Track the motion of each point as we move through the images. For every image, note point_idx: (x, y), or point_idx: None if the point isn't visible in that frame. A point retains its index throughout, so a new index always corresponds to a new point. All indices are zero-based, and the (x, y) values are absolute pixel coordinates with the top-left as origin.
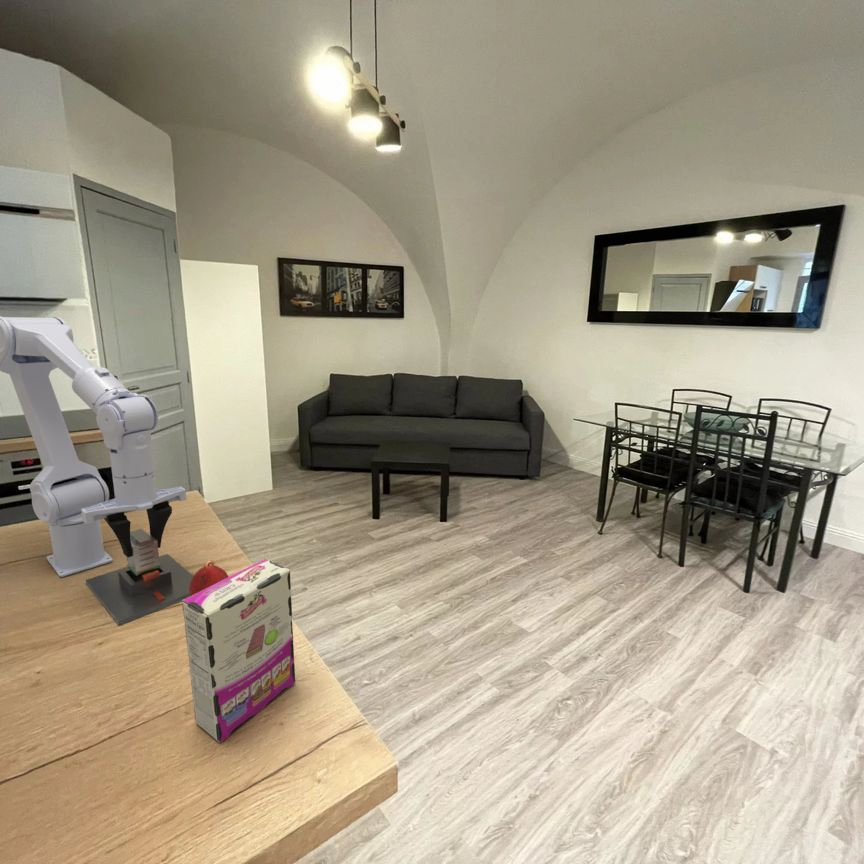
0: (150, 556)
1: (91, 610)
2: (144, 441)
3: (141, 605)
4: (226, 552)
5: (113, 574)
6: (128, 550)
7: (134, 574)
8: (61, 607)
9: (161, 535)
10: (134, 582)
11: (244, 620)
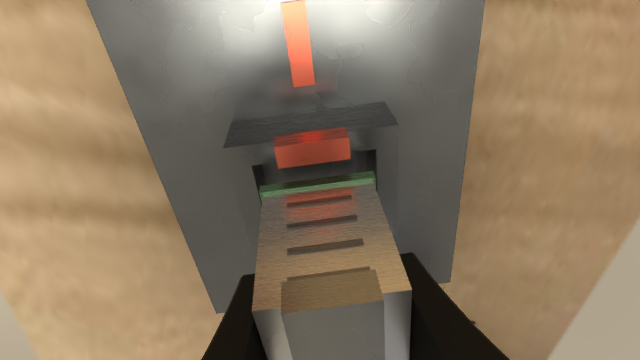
0: (303, 229)
1: (495, 125)
2: None
3: (376, 14)
4: (12, 251)
5: None
6: (426, 281)
7: None
8: (540, 192)
9: (216, 342)
10: (379, 143)
11: None
